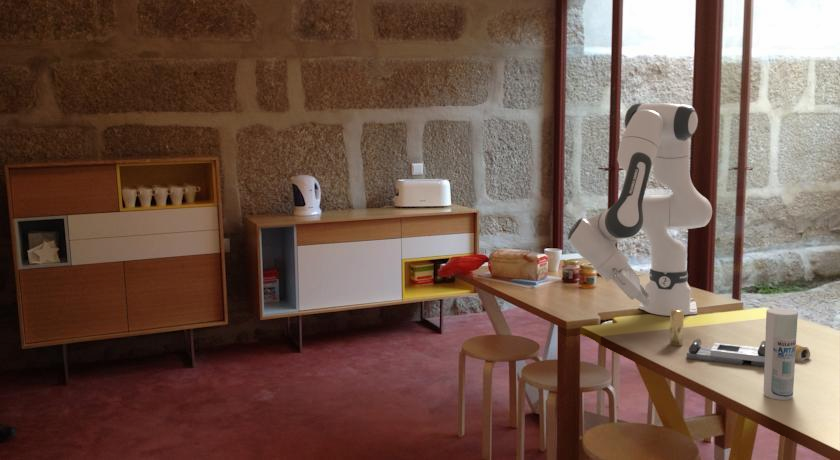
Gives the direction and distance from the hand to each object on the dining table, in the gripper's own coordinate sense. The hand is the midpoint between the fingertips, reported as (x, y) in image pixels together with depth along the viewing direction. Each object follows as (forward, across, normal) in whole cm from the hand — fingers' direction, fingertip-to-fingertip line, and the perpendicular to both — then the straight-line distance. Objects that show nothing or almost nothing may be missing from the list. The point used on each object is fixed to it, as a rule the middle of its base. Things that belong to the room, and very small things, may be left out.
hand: (647, 300), depth 224 cm
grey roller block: (+23, -12, -6) cm, 27 cm away
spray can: (+29, -38, -11) cm, 49 cm away
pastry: (+35, -6, -17) cm, 40 cm away
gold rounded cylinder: (+14, 0, +3) cm, 15 cm away
